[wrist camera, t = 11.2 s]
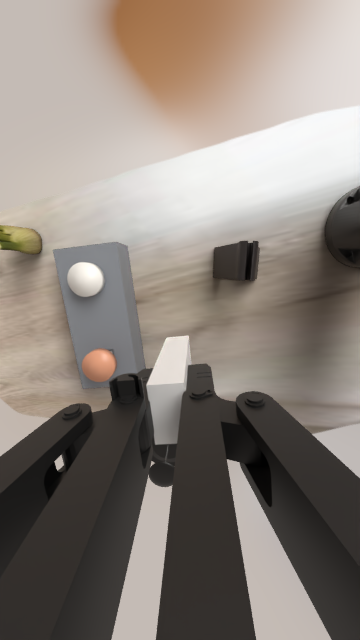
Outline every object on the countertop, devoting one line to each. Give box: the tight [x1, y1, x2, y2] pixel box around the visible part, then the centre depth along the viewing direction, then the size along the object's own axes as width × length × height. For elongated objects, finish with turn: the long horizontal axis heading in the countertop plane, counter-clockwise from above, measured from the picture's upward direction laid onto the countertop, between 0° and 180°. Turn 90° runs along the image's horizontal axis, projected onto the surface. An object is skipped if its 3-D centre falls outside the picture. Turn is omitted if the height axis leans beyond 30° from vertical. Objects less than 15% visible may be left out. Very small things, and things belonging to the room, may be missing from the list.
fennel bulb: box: [0, 225, 42, 254], centre depth 43 cm, size 6×5×12 cm
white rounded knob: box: [67, 262, 105, 297], centre depth 44 cm, size 6×6×8 cm
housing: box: [53, 242, 146, 389], centre depth 48 cm, size 12×28×7 cm, turn 6°
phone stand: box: [213, 241, 260, 281], centre depth 41 cm, size 9×6×12 cm, turn 88°
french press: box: [149, 435, 177, 487], centre depth 43 cm, size 12×9×23 cm
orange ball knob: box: [82, 348, 117, 382], centre depth 46 cm, size 6×6×8 cm
